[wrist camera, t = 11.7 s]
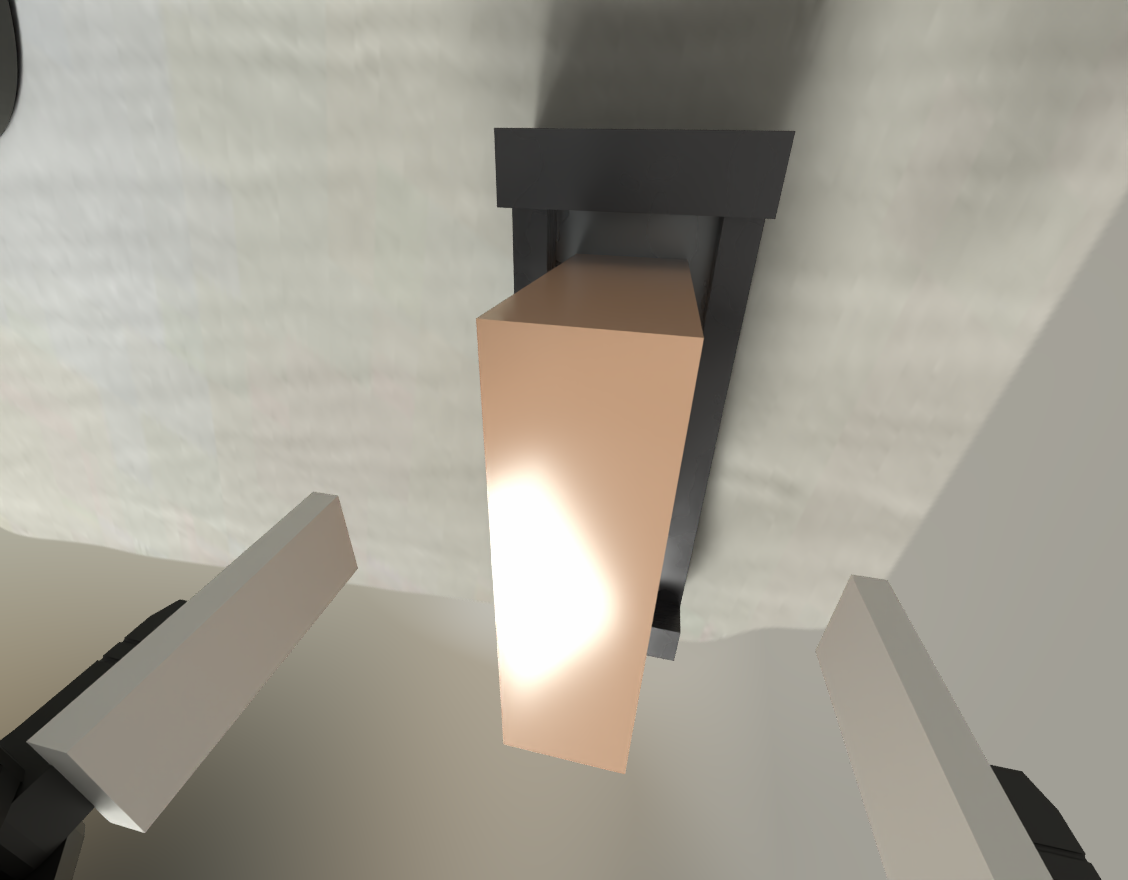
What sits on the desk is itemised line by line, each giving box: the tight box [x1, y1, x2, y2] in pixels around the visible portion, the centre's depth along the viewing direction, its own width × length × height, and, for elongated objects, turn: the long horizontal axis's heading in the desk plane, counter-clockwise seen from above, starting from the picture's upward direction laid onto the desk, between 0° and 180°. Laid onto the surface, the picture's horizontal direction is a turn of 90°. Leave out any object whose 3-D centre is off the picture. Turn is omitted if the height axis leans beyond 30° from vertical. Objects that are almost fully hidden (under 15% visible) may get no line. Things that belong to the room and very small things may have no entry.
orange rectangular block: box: [476, 254, 704, 774], centre depth 16 cm, size 14×4×10 cm, turn 178°
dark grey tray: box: [494, 128, 795, 661], centre depth 19 cm, size 21×8×4 cm, turn 178°
